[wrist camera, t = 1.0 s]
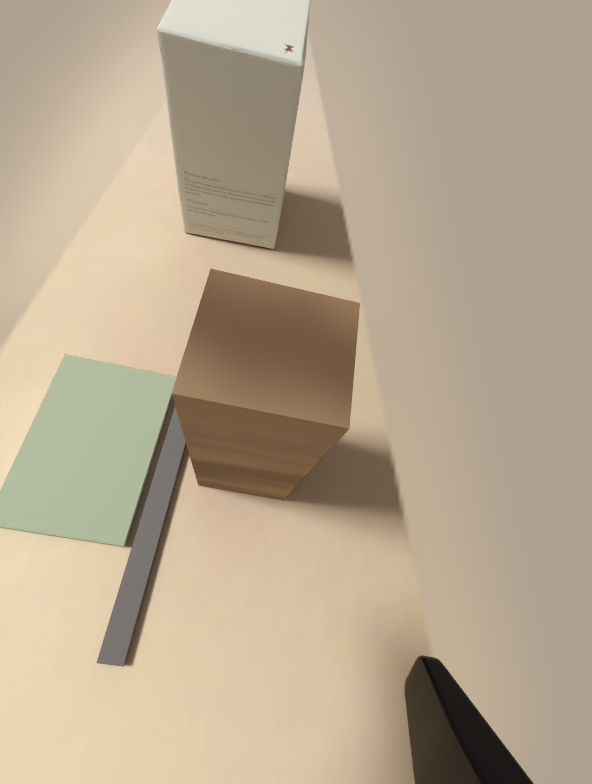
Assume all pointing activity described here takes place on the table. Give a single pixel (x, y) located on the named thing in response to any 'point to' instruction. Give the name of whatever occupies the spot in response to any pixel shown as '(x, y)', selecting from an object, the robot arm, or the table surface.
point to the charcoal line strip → (143, 549)
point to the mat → (87, 452)
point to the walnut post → (264, 383)
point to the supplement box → (233, 110)
